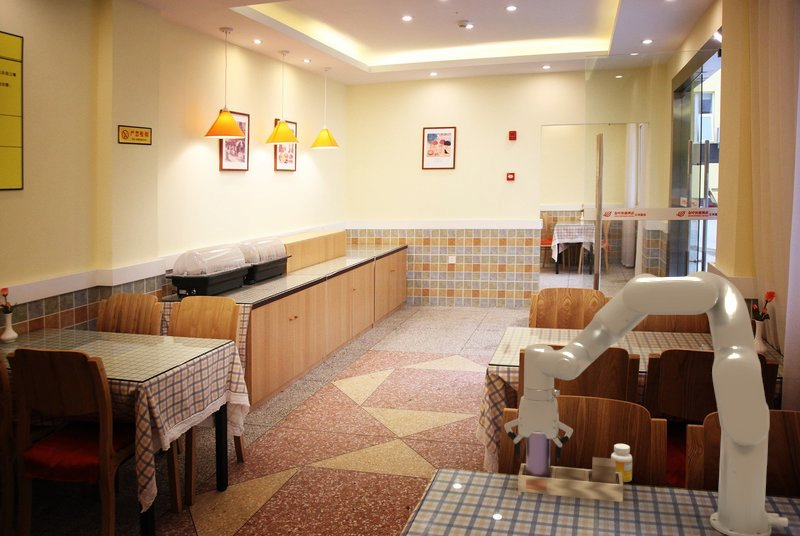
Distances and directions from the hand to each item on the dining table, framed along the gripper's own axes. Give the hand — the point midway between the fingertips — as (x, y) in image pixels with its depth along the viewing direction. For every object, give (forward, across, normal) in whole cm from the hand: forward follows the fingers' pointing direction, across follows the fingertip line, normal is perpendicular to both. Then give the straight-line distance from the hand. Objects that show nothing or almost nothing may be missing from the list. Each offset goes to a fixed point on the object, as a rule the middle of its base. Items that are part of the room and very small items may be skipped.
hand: (537, 458), depth 182 cm
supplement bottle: (+8, -21, -11) cm, 25 cm away
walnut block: (+7, -16, 0) cm, 18 cm away
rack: (+8, -8, 0) cm, 12 cm away
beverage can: (+7, 0, 0) cm, 7 cm away
